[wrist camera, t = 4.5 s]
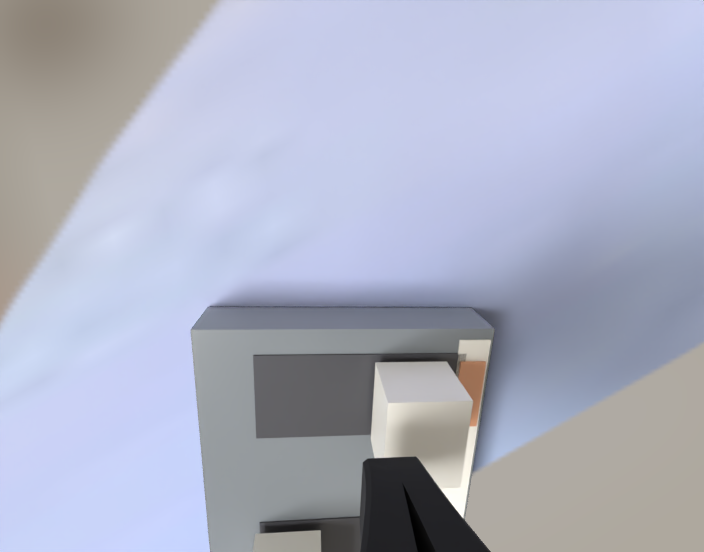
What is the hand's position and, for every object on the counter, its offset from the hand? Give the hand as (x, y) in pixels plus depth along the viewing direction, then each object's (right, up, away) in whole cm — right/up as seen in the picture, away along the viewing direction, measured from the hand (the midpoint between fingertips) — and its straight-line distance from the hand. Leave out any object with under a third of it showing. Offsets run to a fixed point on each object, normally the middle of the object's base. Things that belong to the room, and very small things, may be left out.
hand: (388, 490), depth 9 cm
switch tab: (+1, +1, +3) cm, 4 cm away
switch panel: (-1, -2, +7) cm, 7 cm away
